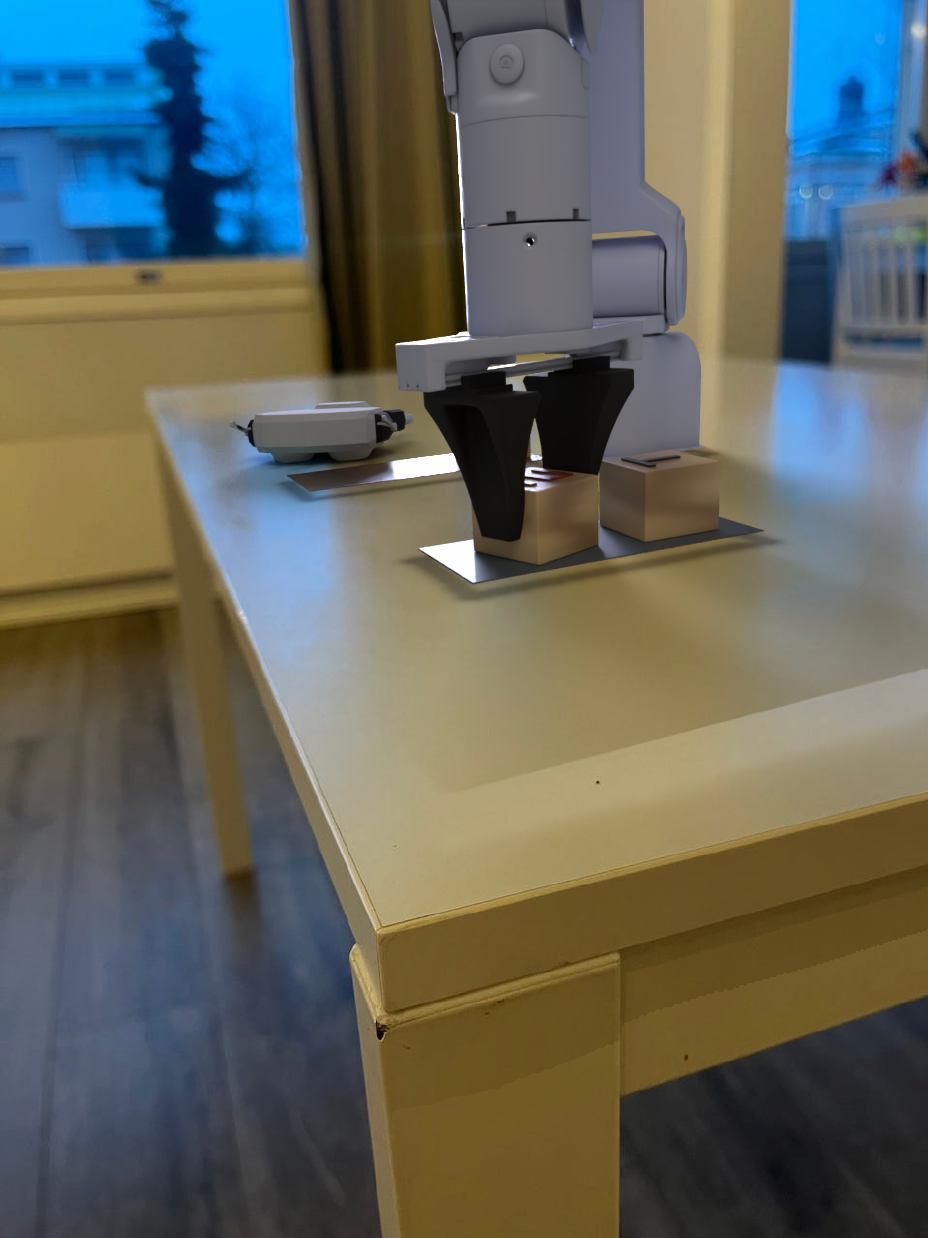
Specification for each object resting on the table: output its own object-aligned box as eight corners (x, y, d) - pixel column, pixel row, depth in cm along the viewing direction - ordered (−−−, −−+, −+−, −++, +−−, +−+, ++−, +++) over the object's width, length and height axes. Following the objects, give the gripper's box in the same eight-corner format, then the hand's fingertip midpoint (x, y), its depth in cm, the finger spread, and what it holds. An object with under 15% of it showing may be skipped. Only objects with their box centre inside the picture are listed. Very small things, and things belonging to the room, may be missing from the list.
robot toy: (291, 453, 88) (230, 473, 73) (287, 403, 86) (224, 413, 72) (423, 449, 86) (386, 468, 71) (420, 397, 85) (382, 406, 70)
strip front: (682, 515, 54) (682, 504, 54) (764, 541, 48) (764, 529, 48) (418, 559, 49) (417, 548, 48) (473, 596, 42) (472, 583, 42)
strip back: (508, 453, 76) (508, 446, 76) (549, 466, 70) (549, 458, 70) (287, 482, 70) (286, 474, 70) (311, 499, 64) (309, 491, 64)
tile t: (669, 513, 52) (669, 447, 51) (719, 530, 48) (721, 458, 47) (598, 525, 51) (598, 457, 49) (645, 543, 47) (645, 470, 46)
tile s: (533, 532, 50) (531, 464, 49) (599, 545, 47) (598, 472, 46) (473, 551, 47) (469, 479, 46) (539, 566, 44) (537, 489, 43)
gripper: (565, 232, 50) (570, 490, 54) (340, 235, 40) (368, 546, 45) (680, 220, 45) (675, 505, 49) (454, 220, 35) (473, 572, 40)
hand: (536, 526), depth 47 cm, fingers closed on tile s, 4 cm apart
